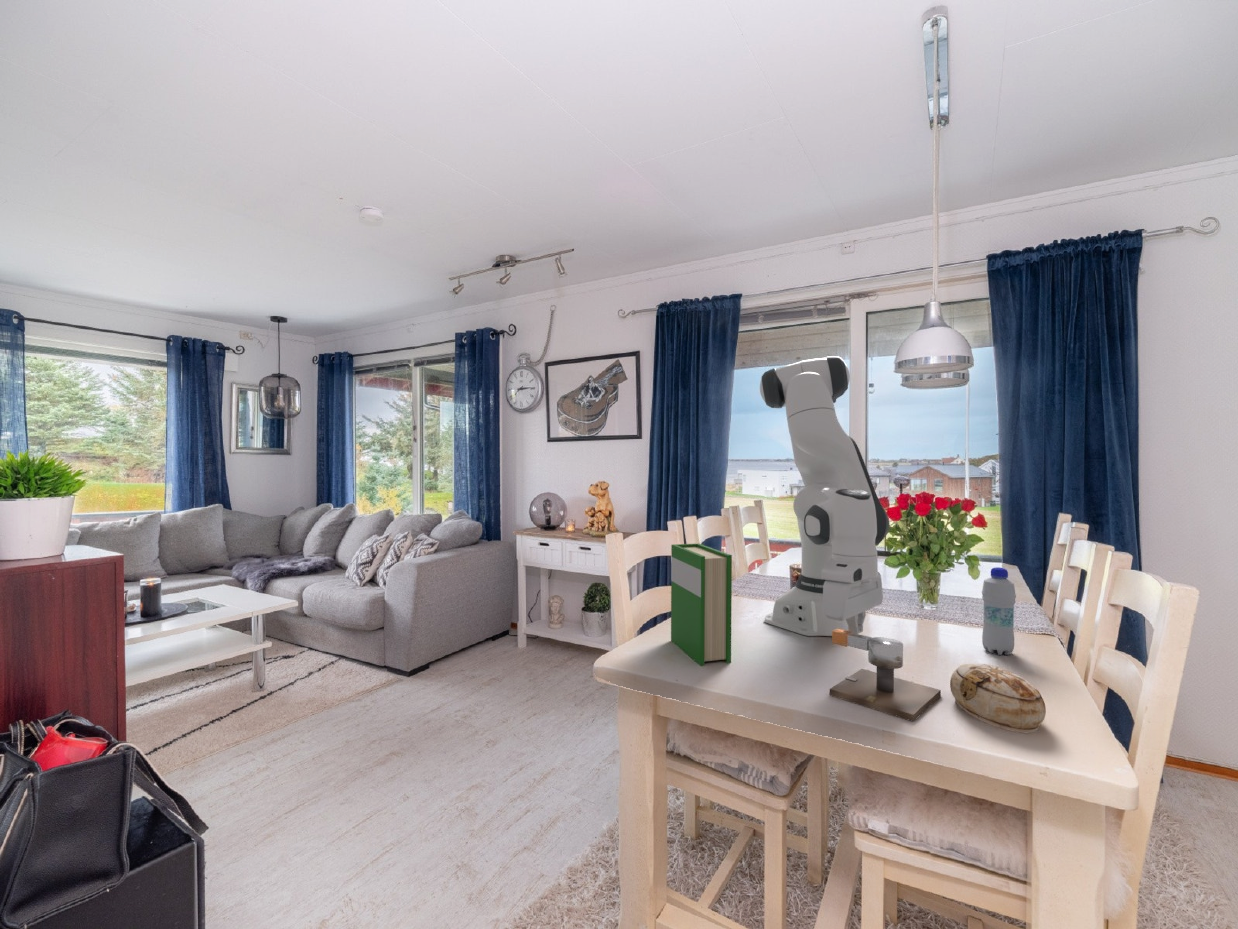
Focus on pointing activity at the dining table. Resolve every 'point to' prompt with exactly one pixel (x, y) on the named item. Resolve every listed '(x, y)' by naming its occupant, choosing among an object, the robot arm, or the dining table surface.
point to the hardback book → (701, 602)
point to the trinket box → (998, 697)
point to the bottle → (998, 612)
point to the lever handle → (873, 648)
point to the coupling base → (886, 693)
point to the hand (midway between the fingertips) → (855, 633)
